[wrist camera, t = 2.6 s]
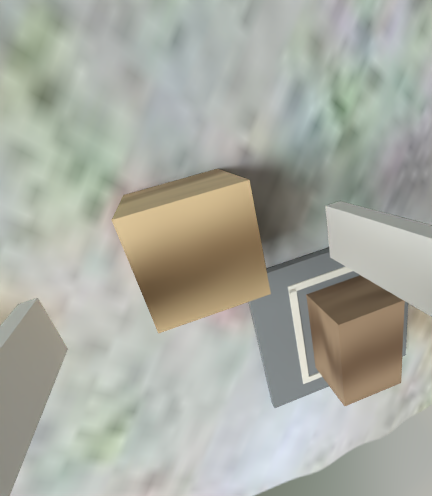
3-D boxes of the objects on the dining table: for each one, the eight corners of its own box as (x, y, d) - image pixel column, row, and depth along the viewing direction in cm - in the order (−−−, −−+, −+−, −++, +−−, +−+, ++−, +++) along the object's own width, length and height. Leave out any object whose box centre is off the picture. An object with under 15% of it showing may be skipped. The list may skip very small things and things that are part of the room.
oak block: (123, 194, 17) (111, 219, 11) (217, 168, 17) (249, 179, 12) (155, 278, 19) (158, 333, 13) (236, 252, 20) (270, 293, 14)
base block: (306, 294, 22) (338, 325, 18) (362, 274, 22) (404, 300, 18) (315, 367, 25) (344, 406, 21) (364, 348, 25) (401, 382, 22)
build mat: (242, 276, 20) (245, 281, 20) (405, 221, 22) (413, 224, 21) (271, 402, 26) (275, 409, 25) (400, 350, 28) (406, 355, 27)
